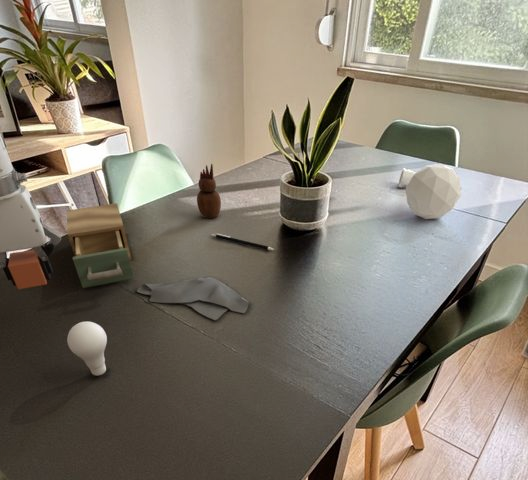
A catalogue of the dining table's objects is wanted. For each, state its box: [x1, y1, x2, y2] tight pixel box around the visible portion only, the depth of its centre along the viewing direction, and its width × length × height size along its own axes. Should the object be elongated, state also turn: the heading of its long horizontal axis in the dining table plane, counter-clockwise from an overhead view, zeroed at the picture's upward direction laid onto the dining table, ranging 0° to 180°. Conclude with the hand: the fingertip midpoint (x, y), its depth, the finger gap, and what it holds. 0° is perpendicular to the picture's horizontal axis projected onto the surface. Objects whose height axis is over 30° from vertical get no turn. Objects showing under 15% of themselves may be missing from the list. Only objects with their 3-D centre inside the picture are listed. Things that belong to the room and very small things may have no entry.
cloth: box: [136, 276, 250, 321], centre depth 94 cm, size 26×14×2 cm, turn 63°
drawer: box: [72, 230, 135, 289], centre depth 98 cm, size 18×11×7 cm, turn 20°
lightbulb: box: [66, 321, 108, 377], centre depth 73 cm, size 6×6×11 cm
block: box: [8, 249, 48, 290], centre depth 80 cm, size 5×5×5 cm
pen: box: [211, 233, 275, 251], centre depth 112 cm, size 1×19×1 cm, turn 62°
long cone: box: [397, 168, 418, 188], centre depth 139 cm, size 6×6×19 cm
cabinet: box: [66, 203, 133, 261], centre depth 108 cm, size 15×13×9 cm
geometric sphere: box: [405, 162, 462, 220], centre depth 120 cm, size 14×15×15 cm
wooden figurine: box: [196, 163, 222, 219], centre depth 122 cm, size 7×6×15 cm
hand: (32, 278), depth 82 cm, fingers closed on block, 5 cm apart
